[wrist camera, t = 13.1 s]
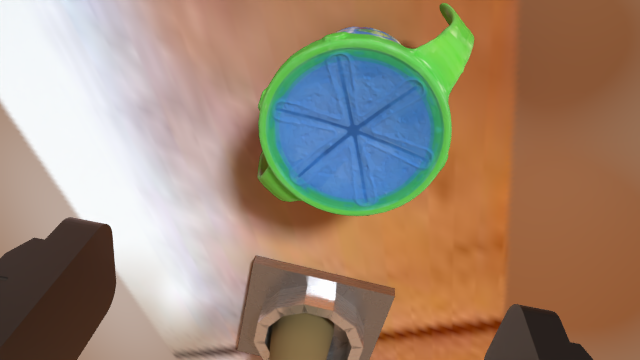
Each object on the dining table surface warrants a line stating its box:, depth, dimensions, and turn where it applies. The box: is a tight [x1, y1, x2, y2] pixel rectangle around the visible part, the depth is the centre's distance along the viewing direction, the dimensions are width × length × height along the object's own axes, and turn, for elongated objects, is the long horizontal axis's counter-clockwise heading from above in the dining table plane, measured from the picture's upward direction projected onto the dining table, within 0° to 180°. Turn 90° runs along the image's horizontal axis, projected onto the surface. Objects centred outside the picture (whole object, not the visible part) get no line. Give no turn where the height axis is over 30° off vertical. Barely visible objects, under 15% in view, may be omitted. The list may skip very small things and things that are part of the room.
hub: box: [237, 256, 395, 360], centre depth 46 cm, size 13×12×3 cm
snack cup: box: [258, 3, 474, 216], centre depth 31 cm, size 16×10×10 cm
